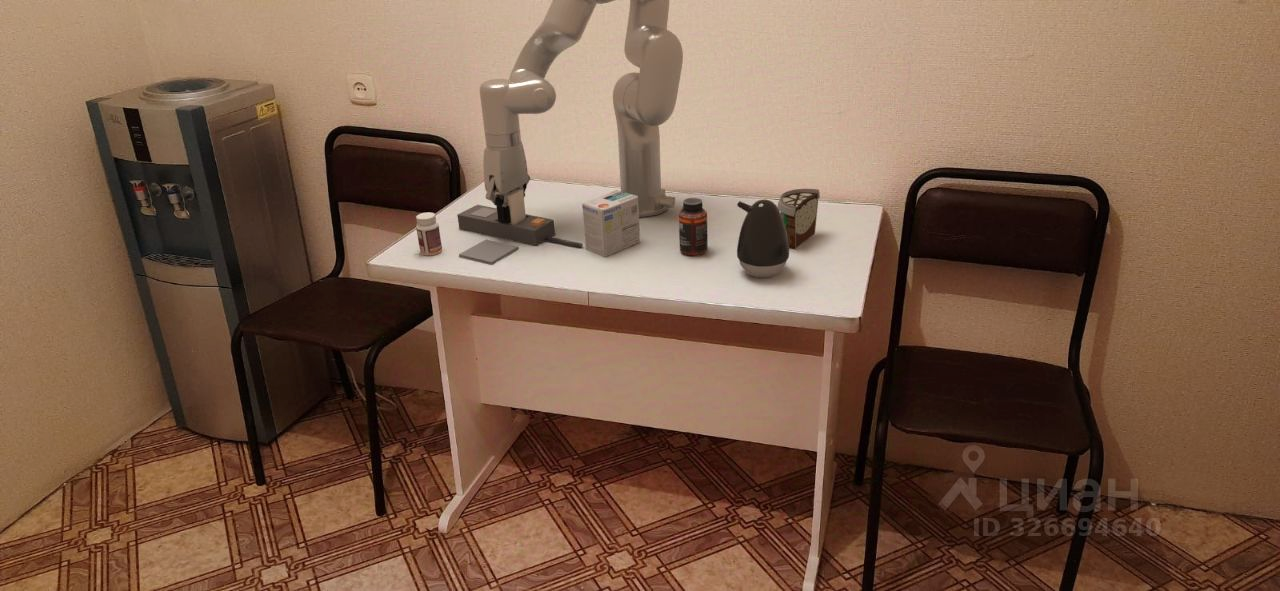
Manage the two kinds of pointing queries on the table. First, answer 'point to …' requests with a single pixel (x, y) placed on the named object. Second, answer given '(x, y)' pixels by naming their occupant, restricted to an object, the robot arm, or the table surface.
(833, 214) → the table surface
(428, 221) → the pill bottle
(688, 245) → the supplement bottle
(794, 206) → the food container
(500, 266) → the table surface
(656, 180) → the robot arm
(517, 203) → the block
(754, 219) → the pump dispenser
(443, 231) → the table surface
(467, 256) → the grey mat
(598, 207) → the light bulb box
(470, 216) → the power strip
